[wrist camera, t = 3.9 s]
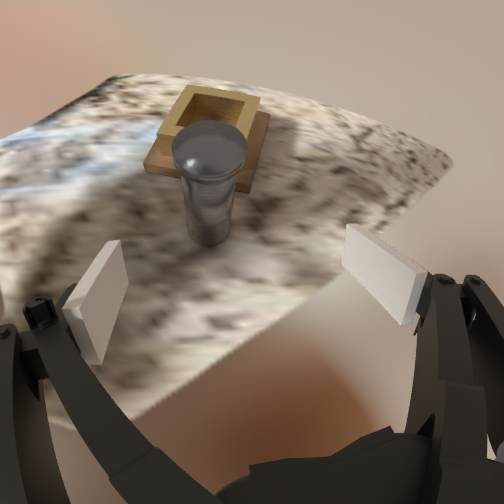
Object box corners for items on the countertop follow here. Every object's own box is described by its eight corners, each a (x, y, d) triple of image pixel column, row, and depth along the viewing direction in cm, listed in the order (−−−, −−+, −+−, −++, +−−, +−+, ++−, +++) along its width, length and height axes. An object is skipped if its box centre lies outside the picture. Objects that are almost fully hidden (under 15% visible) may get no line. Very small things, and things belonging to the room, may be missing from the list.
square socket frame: (160, 155, 29) (156, 133, 25) (187, 105, 32) (187, 84, 29) (239, 171, 29) (243, 149, 26) (256, 118, 32) (260, 97, 29)
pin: (179, 243, 27) (160, 166, 16) (193, 202, 29) (186, 115, 18) (226, 255, 27) (237, 182, 16) (238, 212, 29) (254, 128, 18)
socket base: (145, 171, 29) (143, 163, 28) (181, 105, 34) (181, 97, 32) (249, 193, 30) (250, 185, 28) (268, 122, 34) (270, 114, 33)
